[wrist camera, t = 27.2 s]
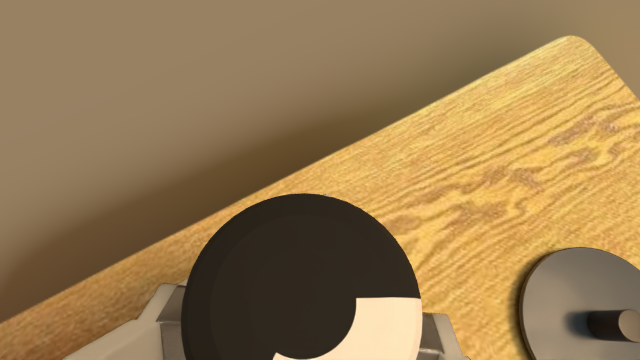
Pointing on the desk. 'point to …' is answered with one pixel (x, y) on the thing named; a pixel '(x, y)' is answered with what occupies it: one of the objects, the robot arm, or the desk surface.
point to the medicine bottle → (301, 287)
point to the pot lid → (581, 307)
